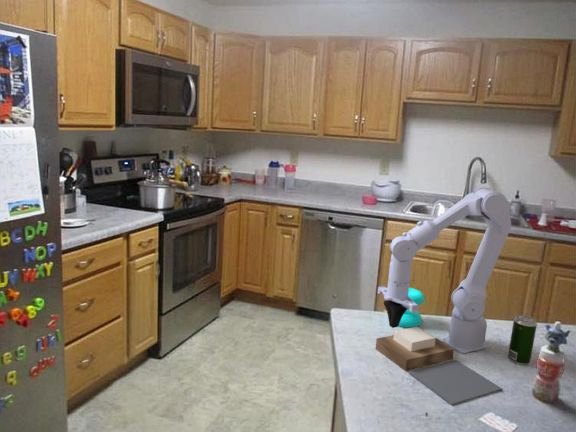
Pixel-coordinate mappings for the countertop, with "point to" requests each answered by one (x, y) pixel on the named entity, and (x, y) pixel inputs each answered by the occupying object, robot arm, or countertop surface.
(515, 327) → the beer can
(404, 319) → the donuts
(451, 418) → the countertop surface
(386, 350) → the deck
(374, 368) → the countertop surface
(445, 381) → the mat
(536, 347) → the countertop surface
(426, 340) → the tile
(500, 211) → the robot arm
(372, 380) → the countertop surface
